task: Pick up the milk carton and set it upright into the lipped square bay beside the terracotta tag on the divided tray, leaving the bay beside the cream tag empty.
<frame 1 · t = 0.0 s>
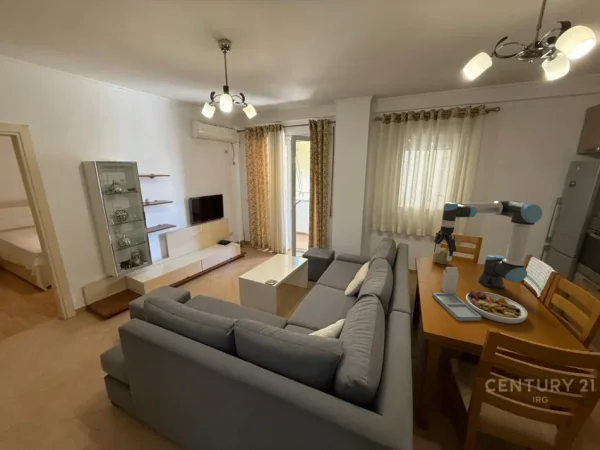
hand: (442, 256, 164), 28 cm above the table, fingers open, 13 cm apart
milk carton: (447, 292, 173), on the table
cantaloupe: (441, 263, 223), on the table
plate of food: (493, 311, 151), on the table
divided tray: (454, 307, 155), on the table
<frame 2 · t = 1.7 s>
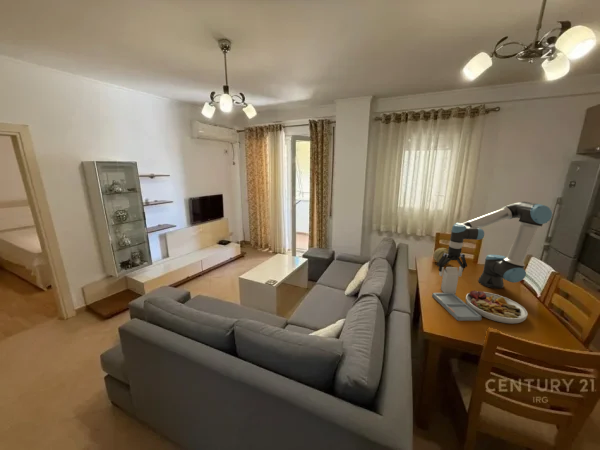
hand: (450, 275, 170), 13 cm above the table, fingers open, 13 cm apart
nothing on the table moved.
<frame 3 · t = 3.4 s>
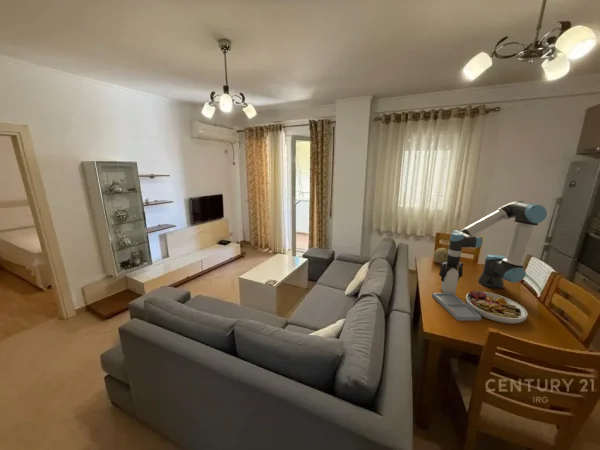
hand: (448, 285, 172), 5 cm above the table, fingers closed on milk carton, 8 cm apart
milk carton: (447, 292, 173), on the table, touching gripper
everything else where it was.
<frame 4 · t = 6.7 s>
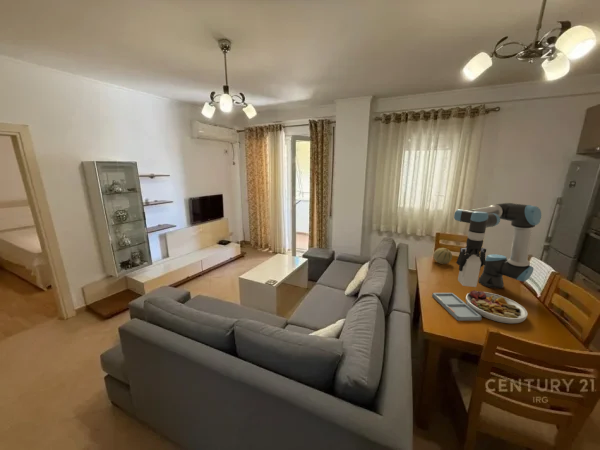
hand: (468, 275, 142), 25 cm above the table, fingers closed on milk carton, 8 cm apart
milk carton: (466, 284, 144), point 20 cm above the table, touching gripper
everything else where it was.
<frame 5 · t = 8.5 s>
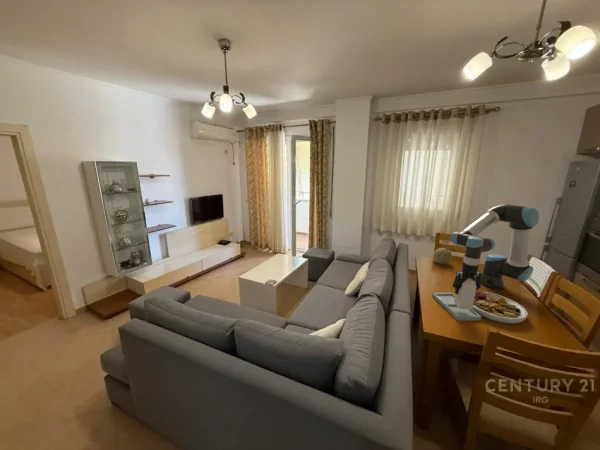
hand: (464, 298, 146), 10 cm above the table, fingers closed on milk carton, 8 cm apart
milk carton: (462, 306, 147), point 5 cm above the table, touching gripper
everything else where it was.
when the fingers open (7 cm above the table, at t = 9.9 s): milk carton stays where it is, resting on divided tray.
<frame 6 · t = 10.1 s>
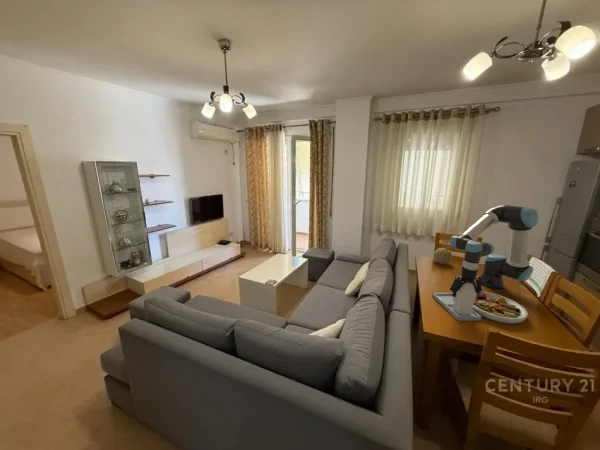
hand: (463, 301, 146), 8 cm above the table, fingers open, 10 cm apart
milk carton: (461, 311, 148), point 1 cm above the table, touching divided tray
everything else where it was.
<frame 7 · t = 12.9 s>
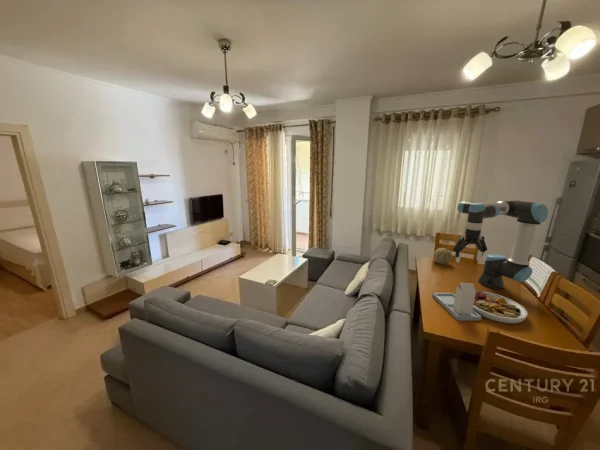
hand: (468, 261, 151), 30 cm above the table, fingers open, 13 cm apart
nothing on the table moved.
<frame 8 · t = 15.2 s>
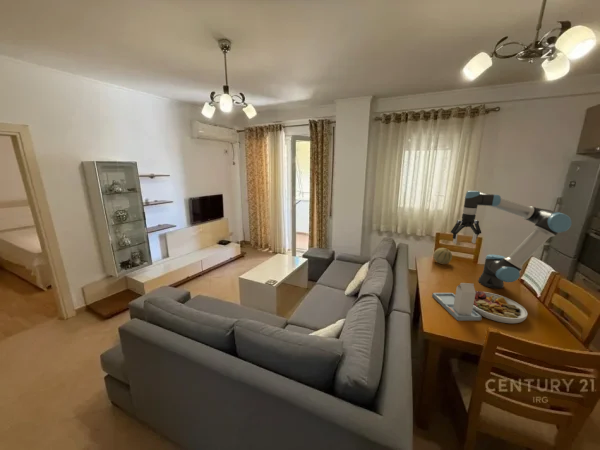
hand: (463, 243, 171), 35 cm above the table, fingers open, 13 cm apart
nothing on the table moved.
at the end: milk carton inside the target area on the divided tray (0.1 cm from its centre), point 1.0 cm above the divided tray's base; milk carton tilted 0°; the gripper is holding nothing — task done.
